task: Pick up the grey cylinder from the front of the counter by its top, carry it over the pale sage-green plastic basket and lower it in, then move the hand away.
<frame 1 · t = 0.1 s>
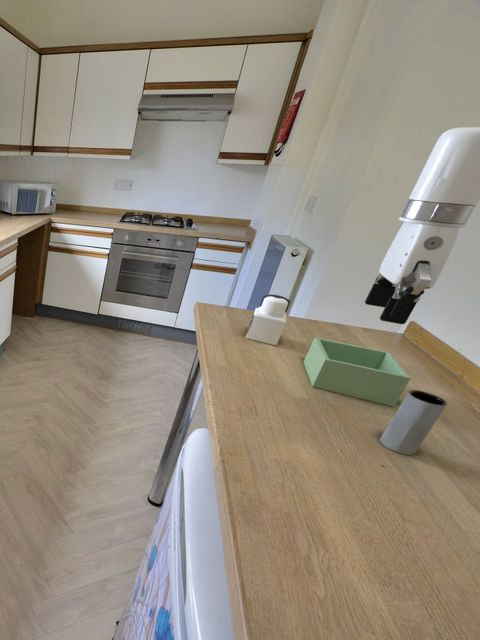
hand: (382, 313, 73), 21 cm above the countertop, tool pointing down, fingers open, 9 cm apart
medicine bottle: (261, 338, 113), on the countertop
grey cylinder: (396, 447, 72), on the countertop
basket: (344, 382, 92), on the countertop
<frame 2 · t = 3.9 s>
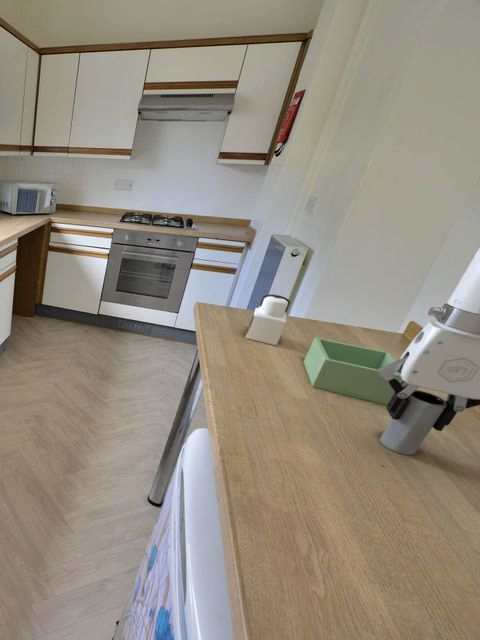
hand: (413, 419, 69), 6 cm above the countertop, tool pointing down, fingers closed on grey cylinder, 4 cm apart
grey cylinder: (396, 447, 72), on the countertop, touching gripper
everything else where it was.
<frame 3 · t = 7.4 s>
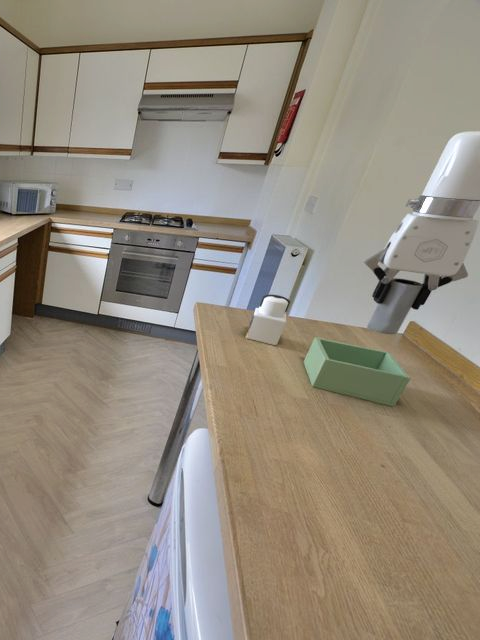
hand: (395, 303, 81), 20 cm above the countertop, tool pointing down, fingers closed on grey cylinder, 4 cm apart
grey cylinder: (380, 331, 83), point 14 cm above the countertop, touching gripper
everything else where it was.
when the fingers open (7 cm above the countertop, at t = 11.0 s): grey cylinder stays where it is, resting on basket.
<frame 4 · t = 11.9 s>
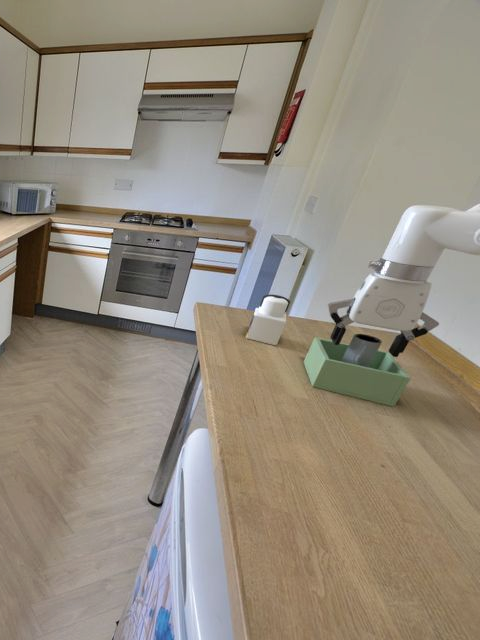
hand: (363, 348, 88), 9 cm above the countertop, tool pointing down, fingers open, 9 cm apart
grey cylinder: (346, 380, 92), point 1 cm above the countertop, touching basket
everything else where it was.
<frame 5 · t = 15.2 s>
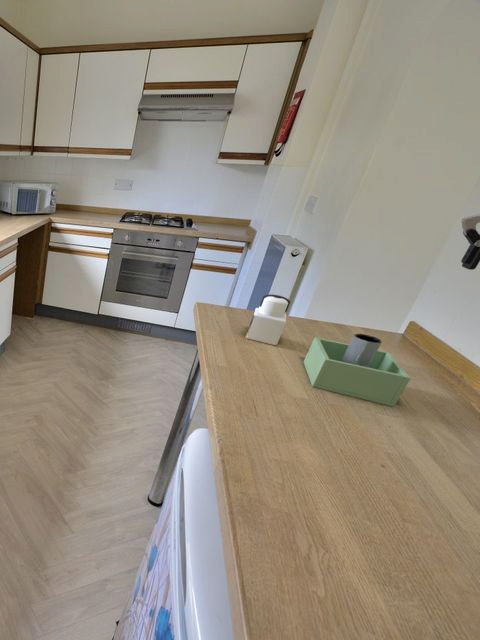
nothing on the countertop moved.
at the end: grey cylinder inside the target area in the basket (0.1 cm from its centre), point 0.6 cm above the basket's base; grey cylinder tilted 0°; the gripper is holding nothing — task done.
